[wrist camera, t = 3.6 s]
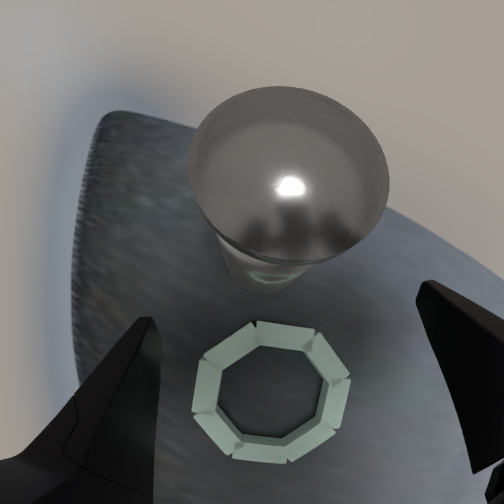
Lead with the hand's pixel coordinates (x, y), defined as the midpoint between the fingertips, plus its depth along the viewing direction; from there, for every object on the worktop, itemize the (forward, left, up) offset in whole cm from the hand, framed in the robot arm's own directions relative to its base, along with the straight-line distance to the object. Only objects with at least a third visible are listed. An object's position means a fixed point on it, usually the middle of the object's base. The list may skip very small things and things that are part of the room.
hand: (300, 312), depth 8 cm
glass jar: (+3, -2, -11) cm, 11 cm away
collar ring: (-5, +3, -11) cm, 12 cm away
